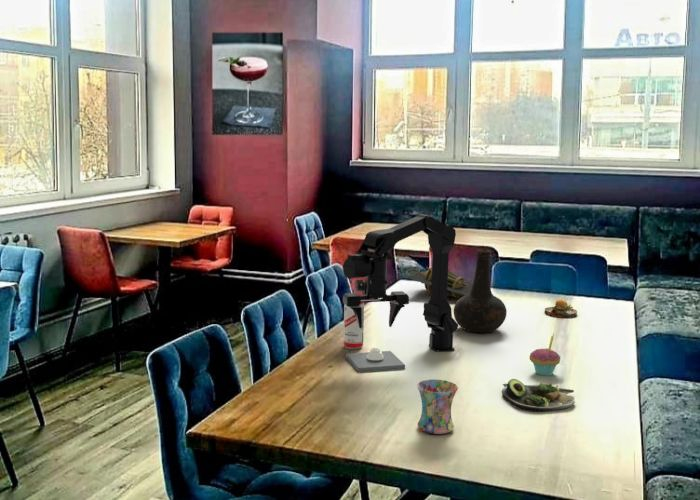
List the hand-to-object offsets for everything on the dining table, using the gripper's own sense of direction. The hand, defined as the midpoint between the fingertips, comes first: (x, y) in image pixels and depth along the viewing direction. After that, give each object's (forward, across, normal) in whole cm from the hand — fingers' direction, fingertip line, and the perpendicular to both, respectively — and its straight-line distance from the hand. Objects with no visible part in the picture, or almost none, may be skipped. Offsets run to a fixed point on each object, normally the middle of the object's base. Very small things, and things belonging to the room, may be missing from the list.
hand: (375, 327), depth 228 cm
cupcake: (+11, -45, +19) cm, 50 cm away
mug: (+11, +1, +52) cm, 53 cm away
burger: (+11, -86, -43) cm, 97 cm away
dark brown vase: (+11, -46, -28) cm, 55 cm away
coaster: (+11, 0, 0) cm, 11 cm away
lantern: (+11, -52, -83) cm, 99 cm away
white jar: (+10, 0, 0) cm, 10 cm away
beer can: (+11, +2, -17) cm, 20 cm away
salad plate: (+11, -32, +38) cm, 51 cm away
